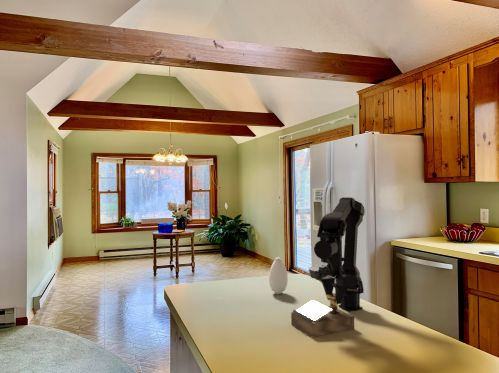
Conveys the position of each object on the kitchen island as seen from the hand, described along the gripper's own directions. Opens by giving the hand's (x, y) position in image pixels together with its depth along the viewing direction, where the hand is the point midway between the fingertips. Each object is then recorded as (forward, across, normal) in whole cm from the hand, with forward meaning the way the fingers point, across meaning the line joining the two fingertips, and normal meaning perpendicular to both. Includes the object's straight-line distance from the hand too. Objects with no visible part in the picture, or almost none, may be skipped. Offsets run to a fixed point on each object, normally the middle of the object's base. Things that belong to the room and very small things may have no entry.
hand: (333, 301), depth 124 cm
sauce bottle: (+8, -41, +1) cm, 42 cm away
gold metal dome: (+2, 0, 0) cm, 2 cm away
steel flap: (+2, 0, -8) cm, 8 cm away
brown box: (+7, 0, -5) cm, 9 cm away
